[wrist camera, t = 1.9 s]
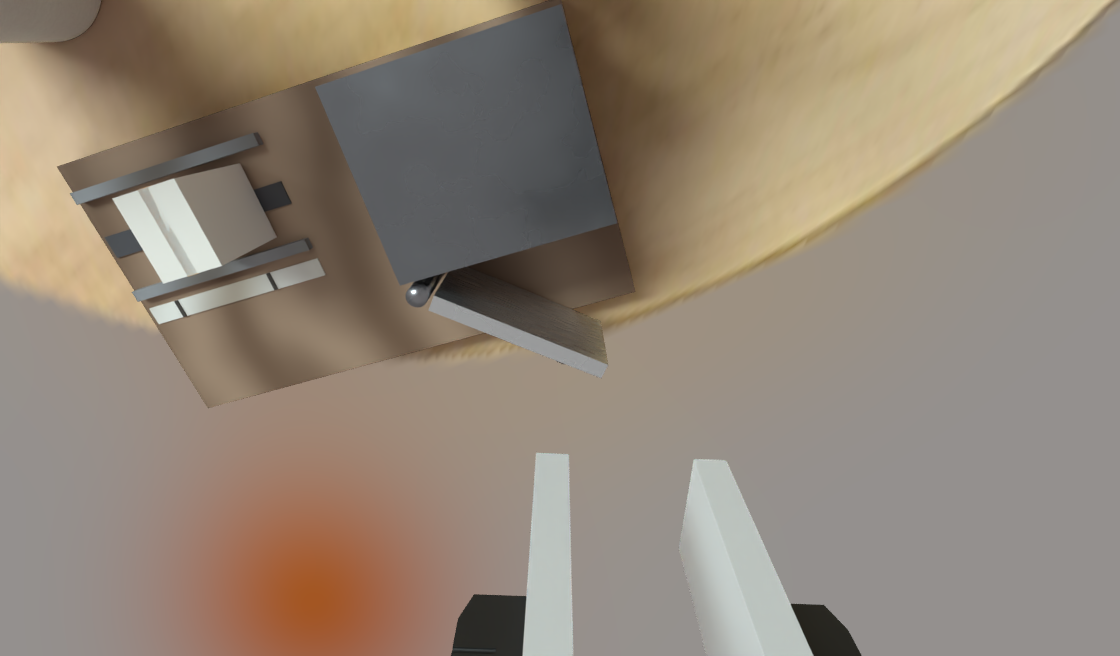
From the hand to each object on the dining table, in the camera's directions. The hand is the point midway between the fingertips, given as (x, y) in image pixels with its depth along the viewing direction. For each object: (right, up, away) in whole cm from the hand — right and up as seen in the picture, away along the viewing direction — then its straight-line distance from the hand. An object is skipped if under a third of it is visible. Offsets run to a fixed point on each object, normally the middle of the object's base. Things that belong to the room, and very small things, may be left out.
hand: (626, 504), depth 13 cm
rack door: (-4, +6, +18) cm, 19 cm away
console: (-12, +10, +18) cm, 24 cm away
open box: (-5, +14, +15) cm, 21 cm away
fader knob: (-19, +11, +16) cm, 27 cm away
